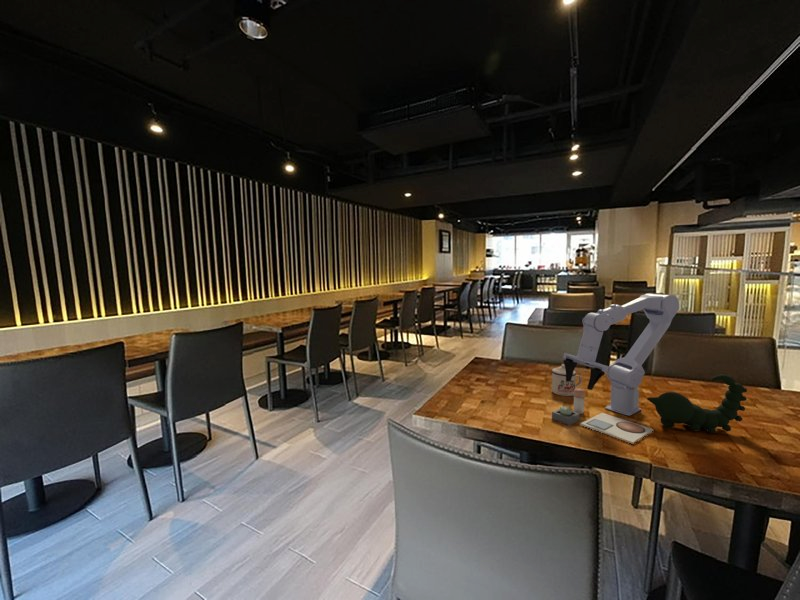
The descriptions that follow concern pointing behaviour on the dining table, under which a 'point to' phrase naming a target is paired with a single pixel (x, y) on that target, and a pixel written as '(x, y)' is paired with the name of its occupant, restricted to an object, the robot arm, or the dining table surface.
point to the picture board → (617, 427)
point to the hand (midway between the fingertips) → (578, 385)
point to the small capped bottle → (579, 400)
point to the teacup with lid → (563, 382)
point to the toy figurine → (683, 411)
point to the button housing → (565, 417)
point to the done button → (565, 411)
